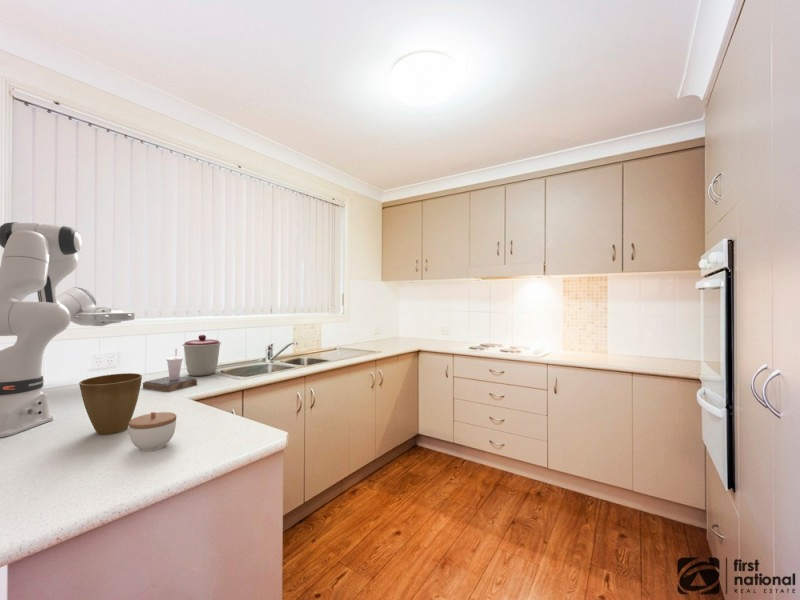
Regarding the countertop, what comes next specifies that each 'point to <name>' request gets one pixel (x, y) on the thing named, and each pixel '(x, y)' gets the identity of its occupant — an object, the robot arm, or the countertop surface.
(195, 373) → the canister
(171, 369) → the smoothie
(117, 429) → the plant pot
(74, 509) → the countertop surface
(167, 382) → the dark brown flat slab
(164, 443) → the lidded jar
